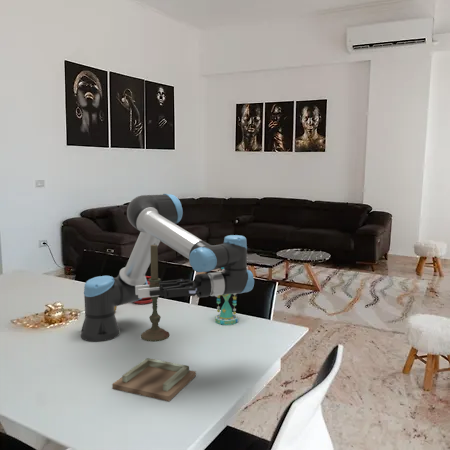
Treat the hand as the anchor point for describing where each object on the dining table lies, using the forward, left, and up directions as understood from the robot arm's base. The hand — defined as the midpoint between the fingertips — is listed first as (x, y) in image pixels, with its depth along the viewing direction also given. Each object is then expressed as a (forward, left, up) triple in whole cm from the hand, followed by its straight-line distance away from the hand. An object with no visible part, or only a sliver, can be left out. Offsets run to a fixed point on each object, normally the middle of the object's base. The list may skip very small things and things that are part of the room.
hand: (137, 292), depth 140 cm
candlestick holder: (+4, +4, -15) cm, 16 cm away
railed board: (+4, +4, -30) cm, 31 cm away
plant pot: (-48, +77, -30) cm, 96 cm away
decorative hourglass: (+3, +67, -30) cm, 73 cm away
